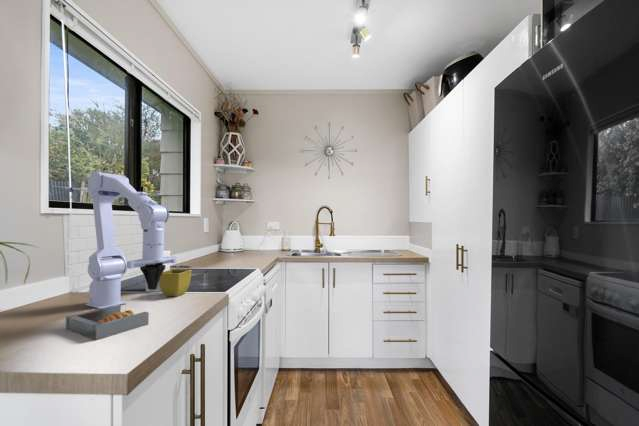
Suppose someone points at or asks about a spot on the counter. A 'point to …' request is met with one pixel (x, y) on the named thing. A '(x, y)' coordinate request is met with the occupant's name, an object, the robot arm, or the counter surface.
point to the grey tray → (92, 329)
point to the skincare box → (167, 267)
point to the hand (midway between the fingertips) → (152, 289)
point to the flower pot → (174, 282)
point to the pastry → (116, 316)
